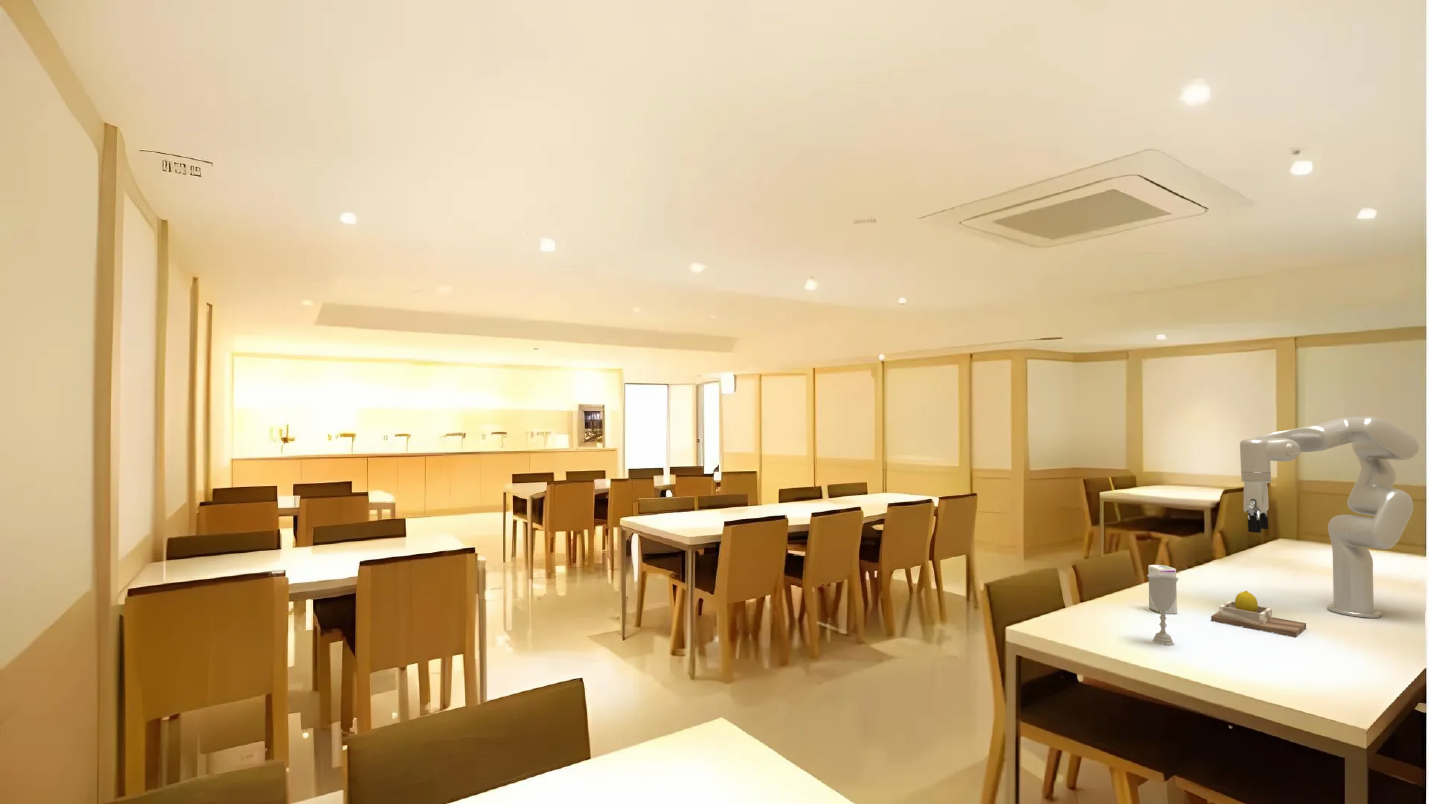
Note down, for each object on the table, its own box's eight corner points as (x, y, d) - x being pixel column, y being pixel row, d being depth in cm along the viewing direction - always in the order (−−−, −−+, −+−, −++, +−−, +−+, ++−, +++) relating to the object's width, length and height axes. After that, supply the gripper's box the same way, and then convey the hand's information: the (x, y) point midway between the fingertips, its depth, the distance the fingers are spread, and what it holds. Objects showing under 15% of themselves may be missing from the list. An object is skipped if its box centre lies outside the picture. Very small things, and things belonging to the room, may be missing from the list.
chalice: (1151, 644, 184) (1150, 578, 184) (1144, 637, 190) (1144, 573, 191) (1182, 647, 181) (1181, 580, 182) (1175, 640, 188) (1174, 575, 188)
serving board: (1224, 613, 216) (1224, 599, 216) (1306, 628, 200) (1305, 613, 200) (1211, 620, 207) (1211, 606, 207) (1295, 637, 191) (1295, 621, 192)
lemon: (1262, 620, 203) (1261, 593, 203) (1241, 619, 204) (1241, 592, 204) (1251, 615, 208) (1251, 589, 209) (1231, 614, 209) (1230, 588, 210)
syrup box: (1178, 614, 214) (1177, 568, 214) (1159, 613, 214) (1158, 568, 215) (1166, 609, 220) (1165, 564, 220) (1148, 609, 220) (1147, 564, 220)
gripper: (1248, 475, 225) (1250, 526, 225) (1234, 478, 214) (1237, 532, 213) (1276, 476, 219) (1279, 528, 219) (1264, 479, 208) (1267, 535, 208)
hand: (1258, 530), depth 216 cm, fingers open, 9 cm apart
